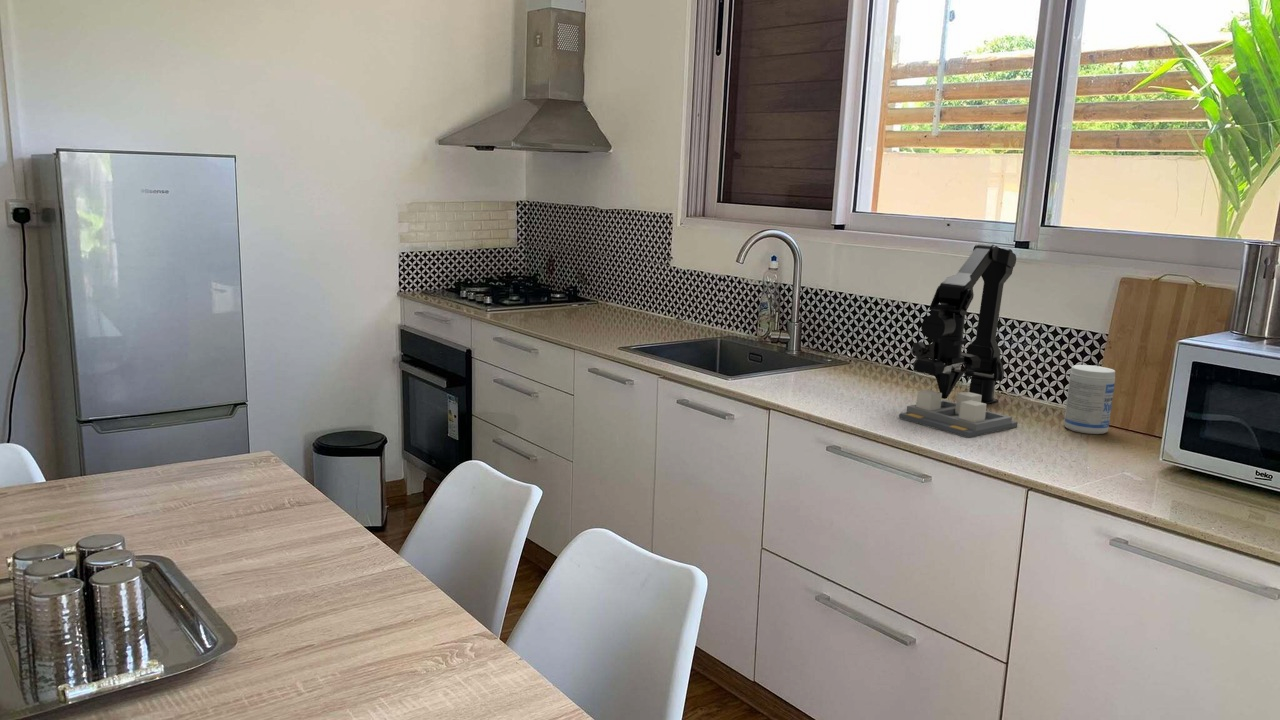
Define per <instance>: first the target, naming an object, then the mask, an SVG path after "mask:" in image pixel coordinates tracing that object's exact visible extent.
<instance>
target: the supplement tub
mask: <svg viewBox="0 0 1280 720" xmlns="http://www.w3.org/2000/svg"><path fill="white" fill-rule="evenodd" d="M1069 373H1070V374H1069V379H1068V380H1069V381H1068V388H1067V397H1066V403H1065V405H1066V406H1065V413H1064V414H1065V415H1064V421H1063V422H1064V423H1063V424H1064V427H1065V428H1066V429H1068V430H1070V431H1071V432H1076V433H1082V434H1090V435H1101V434H1106V433H1107V432H1108V431H1109V428H1110V427H1109V426H1110V420H1111V413H1112V405H1113V397H1114V391H1115V383H1116V370H1115V369H1113V368H1109V367H1104V366H1099V365H1092V364H1091V365H1089V364H1075V365H1072V366H1071V371H1070V372H1069Z"/></svg>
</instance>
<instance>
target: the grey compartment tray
mask: <svg viewBox="0 0 1280 720" xmlns="http://www.w3.org/2000/svg"><path fill="white" fill-rule="evenodd" d="M955 408H956V402H953V401H950V400H946V399H941V408H940V409H938V410H932V411H929V410H925V409H922V408H918V407H916V404H912V405H911V404H910V405H906V411H905V412H900V413H899V417H898V419H900V420H905V421H908V422H912V423H915V424H919V425H921V426H925V427H929V428H931V429H932V428H933V429H935V430H940V431H943V432H947V433H950V434H953V435H957V436H961V437H964V438H966V439H967V438H968V439H969V438H974V437H978V436H982V435H987V434H993V433H995V432H996V433H998V432H1000V431H1001V432H1002V431H1005V430H1010V429H1014V428H1017V427H1018V421H1015V420H1013V416H1008V415H1005V414H1002V413H997V412H993V411H989V410H986V414H985V421H981V422H976V423H974V422H970V421H967V420H963V419H959V415H958V414H955Z"/></svg>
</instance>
